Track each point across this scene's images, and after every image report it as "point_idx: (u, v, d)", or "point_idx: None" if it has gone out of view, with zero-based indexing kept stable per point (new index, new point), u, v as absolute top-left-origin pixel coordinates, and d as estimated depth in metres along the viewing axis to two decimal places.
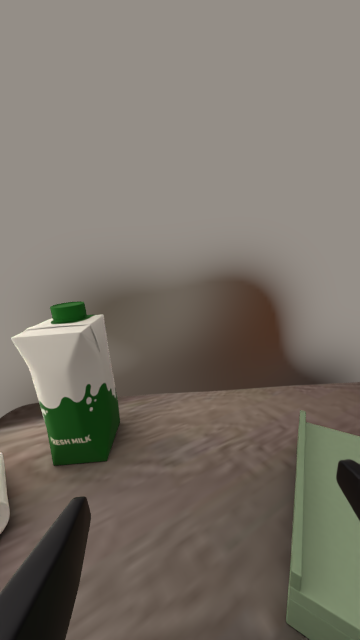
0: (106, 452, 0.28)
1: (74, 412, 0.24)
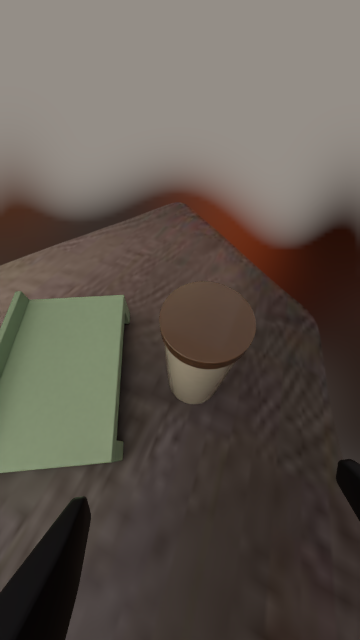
0: None
1: None
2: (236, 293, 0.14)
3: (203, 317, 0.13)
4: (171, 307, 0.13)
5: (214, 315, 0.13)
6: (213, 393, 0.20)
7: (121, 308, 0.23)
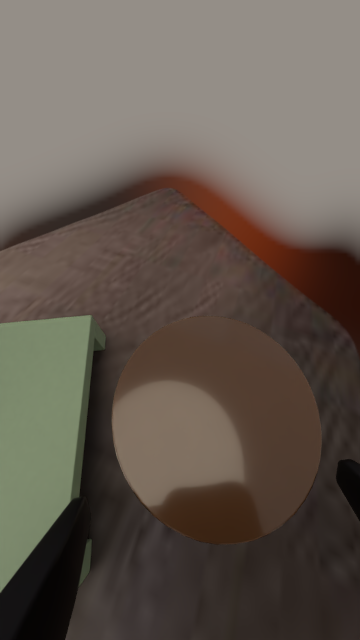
0: None
1: None
2: (269, 340, 0.07)
3: (206, 403, 0.06)
4: (139, 380, 0.06)
5: (229, 397, 0.06)
6: None
7: (87, 335, 0.16)
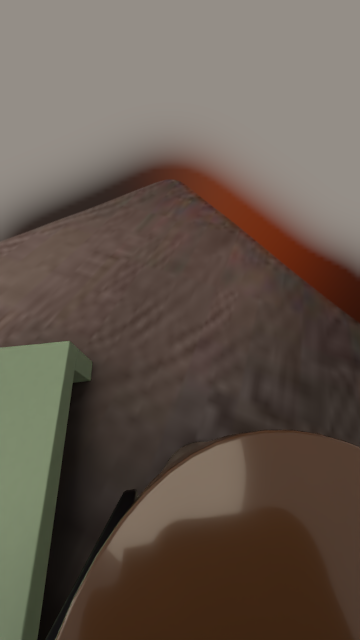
0: None
1: None
2: None
3: None
4: None
5: None
6: None
7: (62, 371, 0.12)
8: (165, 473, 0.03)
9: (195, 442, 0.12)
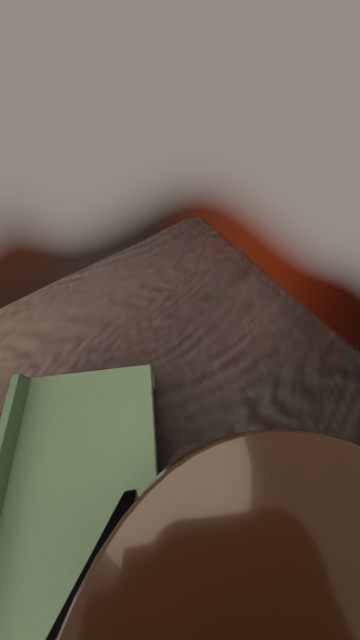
0: None
1: None
2: None
3: None
4: None
5: None
6: None
7: (149, 385, 0.18)
8: (166, 472, 0.03)
9: (195, 442, 0.12)
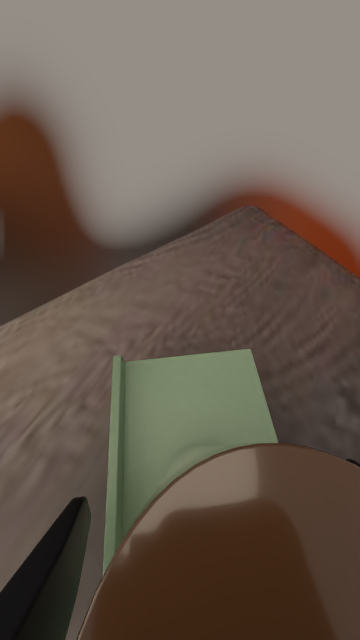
0: None
1: None
2: None
3: None
4: None
5: None
6: None
7: (255, 370, 0.17)
8: (172, 482, 0.03)
9: None
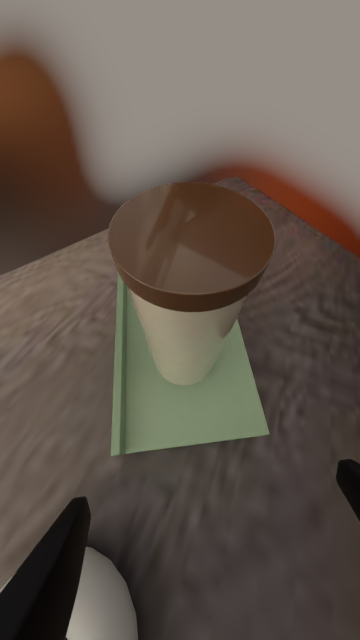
0: None
1: None
2: (239, 195, 0.08)
3: (184, 227, 0.07)
4: (130, 215, 0.08)
5: (203, 224, 0.07)
6: (209, 369, 0.15)
7: None
8: None
9: None
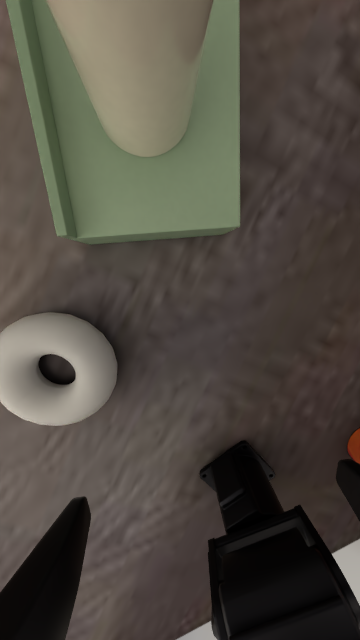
0: None
1: None
2: None
3: None
4: None
5: None
6: (177, 122, 0.10)
7: None
8: None
9: None
